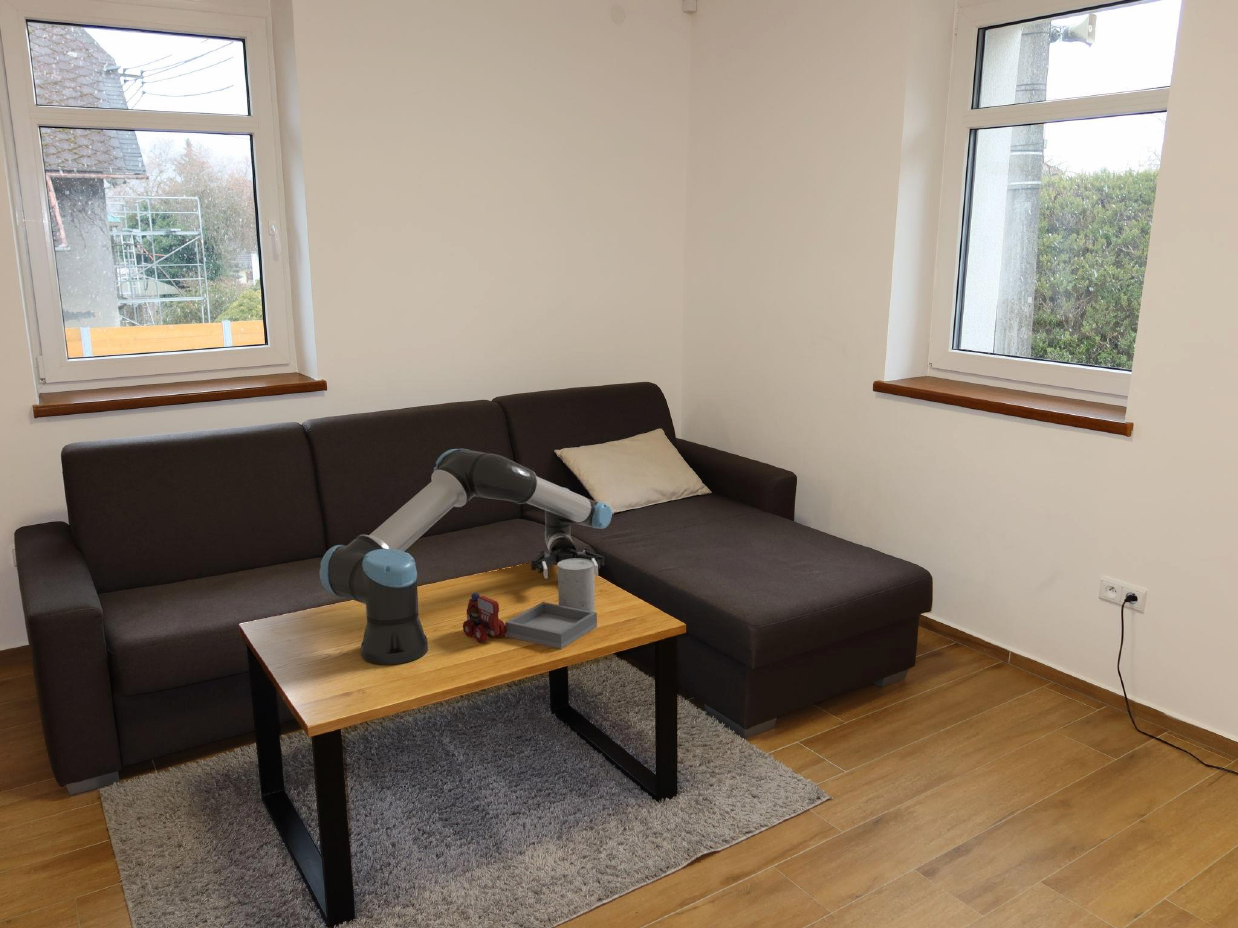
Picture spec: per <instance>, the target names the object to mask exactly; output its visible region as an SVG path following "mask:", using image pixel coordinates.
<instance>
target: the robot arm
mask: <svg viewBox="0 0 1238 928" xmlns="http://www.w3.org/2000/svg"><path fill="white" fill-rule="evenodd" d="M474 497H477V498H483V499H484V498H485V499H492V500H501V501H506V502H507V501H508V502H513V503H515V504H518V505H523V504H528V505H530V506H534V507H536V508H539V509H541V510H544V522H545V524H544V526H545V528H544V543H545V545H546V547H547V550H548V551H549V552H548V553H547V552H545V551H543V550H542V551H541V550H540V552H539V554H538V555H536V556H535V557H534V558H533V559H532V560H530V570H531V571H536V570H537V573H538V574H542V573H543V577H544V579H548V578H549V576H548V575H549V574H548V571H549V570H548V569H549V567H551V566H557V564H558V563H559V562H560V561H562V560H566V559H573V558H581V559H588V560H591V561H593V562H594V576H599V570H600V569H601V567H604V566H605V556H603V555H600V554H598V553H596V552H594V551H591V550H590V549H588V548H584V549H583V551H580V550H577V547H576V545H575V543H574V541H573V539H572V536H571V535H572V534H571V524H573V525H580V526H585V527H589V528H593V529H601V530H602V529H606V528H607V527H608V526H609V525H610V523H611V521H612V517H613V512H612V508H611V506H610V505H609V504H608V503H605V502H602V501H596V500H593V499H590V498H588V497H585V496H584V495H581V494H579V493H576V492H574V491H571V490H570V489H569V488H567V487H562V486H560V485H557V484H555V483H553V482H551V481H548V480H546V479H543V478H542V477H539V476H537V474H536V472H534V471H533V470H532V469H531V468H529V467H525V466H524V465H522V464H520V463H517V461H516V462H515V461H513V460H511V459H509V458H507V457H505V456H502V455H499V454H495V453H487V452H483V451H477V450H472V449H469V448H467V449H466V448H454V449H448V450H446V451H445V452H443V453H442V454H440V456H439V457H438V458H437V460H436V462H435V466H434V467H433V473H431V482H429V483H428V484H427V485H426V486H425V487H423V488H422V489H421V490H420V491H419V492H418V493H416V494H415V495H414V496H413V497H412V498H411V499H410V500H409V501H407V502H406V503H405V504H404V505H402V506H401V507H400V508H399V509H398V510H397V511H396V512H394V513H393V514H392V515H391V516H389V517H388V519H386V520H385V521H384V522H383V523H382V524H380V525H379V526H378V527H377V528H376V529H375V530H373V531H372V532H371V533H369V535H368V534H360V535H358V536H356V537H355V538H354V539H353V540H352V541H351V542H350V543H348V544H347V545H345V544H337V545H334V546H332V547H330V548H329V549H328V550H327V551H326V552H325V554H323V557H322V558H321V561H320V569H319V578H320V582H321V584H322V586H323V587H324V588H325V590H326V591H328V592H330V593H331V594H333V595H335V596H337V597H340V598H345V599H349V600H351V601H355V602H358V603H361V604H363V605H364V604H365V609H366V611H365V614H366V625H365V628H364V629H365V630H364V633H363V638H362V641H361V644H360V653H361V654H360V655H361V658H362V660H364V661H365V662H368V663H371V664H373V665H374V664H375V665H386V666H387V665H399V664H404V663H408V662H409V663H410V662H412V661H415V660H417V659H420V658H421V657H423V656H425V655H426V654H427V653H428V651H429V641H428V637H427V635H426V634H425V631H424V627H423V625H422V622H421V620H420V617H419V616H420V615H419V597H418V596H419V595H418V594H419V593H418V572H417V568H416V567H417V566H416V561H415V558H414V557H413V556H412V555H411V554H410V553H408V552H405V551H406V550H407V549H408V548H410V547H411V546H412V545H413V544H414V543H415V542H416V541H417V540H418V539H419V538H420V537H422V536H423V535H424V534H425V533H426V532H427V531H428V530H430V528H432V527H433V526H434V525H435V524H436V523H438V521H439V520H441V518H443V517H444V516H445V515H446V514H447V513H449V511H450V510H451V509H453V508H454V507H455V508H462V507H464V506H465V505H466V504H467V503H469V501H471V499H472V498H474Z"/></svg>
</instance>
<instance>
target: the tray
mask: <svg viewBox="0 0 1238 928" xmlns="http://www.w3.org/2000/svg"><path fill="white" fill-rule="evenodd" d="M504 624H505V626H506V634H505V637H506V638H509V639H514V638H515V639H516V640H519V641H524V642H528V643H533V644H536V645H537V644H538V645H542V646H547V647H551V648H554V649H559V650H562V649H564V648H566V647H567V646H568V645H569V646H570V644H572V643H573V642H575V641H577V640H579V639H580V638H582V637H583V636H584V635H587V634H588V633H590V632H591V631H593V630H594V629H596V628H598V613H597V612H596V611H594V612H592V611H587V610H582V609H576V608H571V607H566V606H561V605H559V604H556V603H550V602H545V601H542V602H541V603H538V604H537V605H535V606H533V607H531V608H529V609H527V610H525V611H524V612H523V611H522V612H521V613H520V614H517V615H516V616H514V617H512V618H510V619H508V620H506V621H505V622H504ZM581 636H582V637H581Z"/></svg>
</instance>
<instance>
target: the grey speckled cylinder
mask: <svg viewBox="0 0 1238 928" xmlns="http://www.w3.org/2000/svg"><path fill="white" fill-rule="evenodd" d="M556 566H557V590H558V591H557V592H558V593H557V594H558V595H557V597H558V605H561V606H566V607H571V608H576V609H582V610H587V611H592V612H596V611H595V610H596V603H595V601H596V598H595V597H596V595H595V573H594V562H593V561H591V560H588V559H581V558H573V559H566V560H562V561H560V562H559V563H558V564H557V565H556Z"/></svg>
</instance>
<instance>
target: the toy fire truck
mask: <svg viewBox="0 0 1238 928" xmlns="http://www.w3.org/2000/svg"><path fill="white" fill-rule="evenodd" d="M470 597H471V598H470V599H469V600H468V603H467V608H466V620H464V622H463V623H462V630H463V632H464V634H465V635H466V637H468V638H470V637H474V639H475V641H476V642H477V643H479V644H482V643H485V642H486V641H488V637H493V638H494V637H497V638H501V637H504V636H506V626H505V622H504V621H503V620H501V619H499V612H500V606H499V602H498V601H497V600H494V599H492V598H490V597H487V596H484V595H480V594H479V593H478V592H473V593H472V594H471V596H470Z"/></svg>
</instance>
